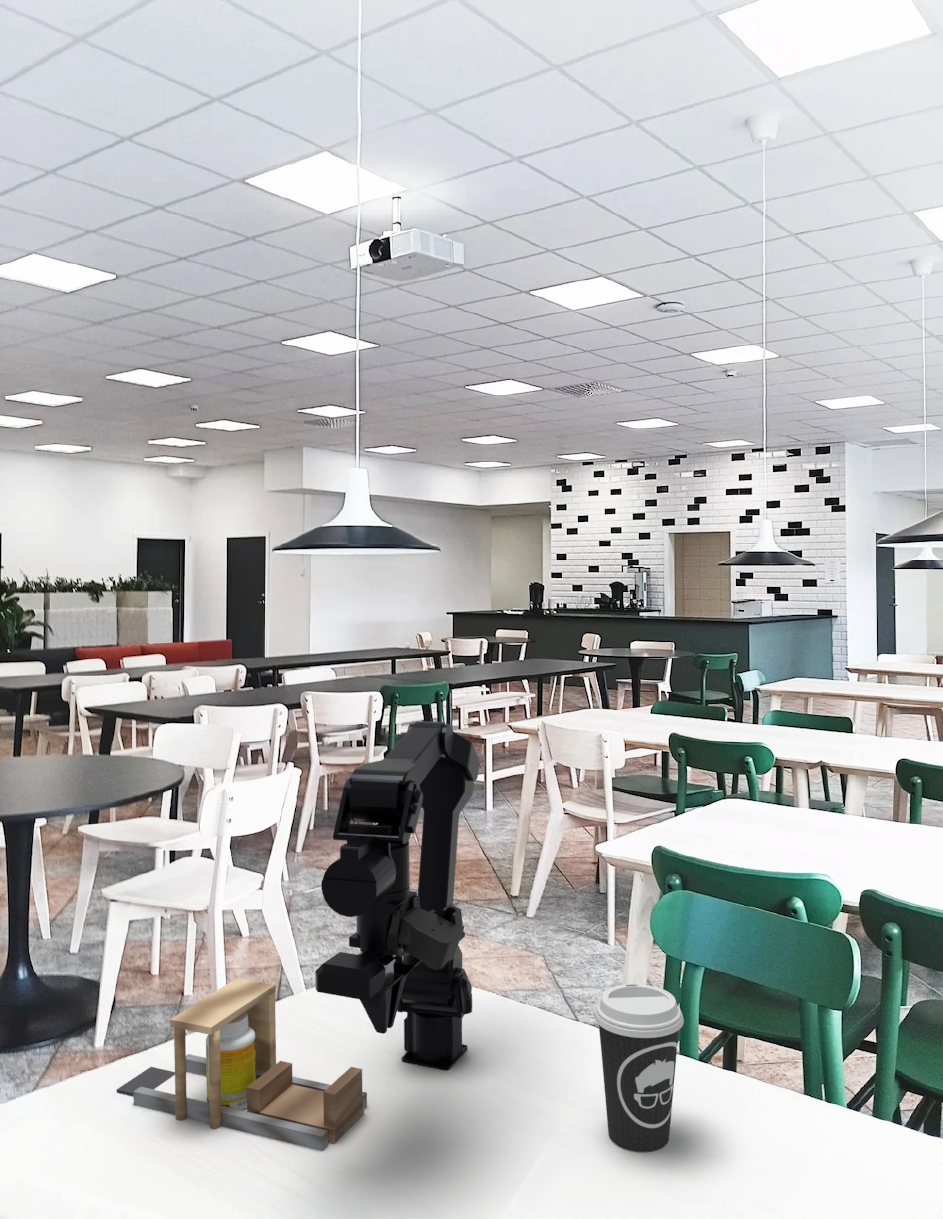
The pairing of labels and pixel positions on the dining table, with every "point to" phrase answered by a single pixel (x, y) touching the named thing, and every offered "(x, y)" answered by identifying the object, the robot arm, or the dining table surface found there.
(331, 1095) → the sled
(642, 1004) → the coffee cup
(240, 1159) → the dining table surface
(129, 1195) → the dining table surface
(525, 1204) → the dining table surface
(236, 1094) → the supplement bottle
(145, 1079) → the pad
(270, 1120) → the tunnel track
